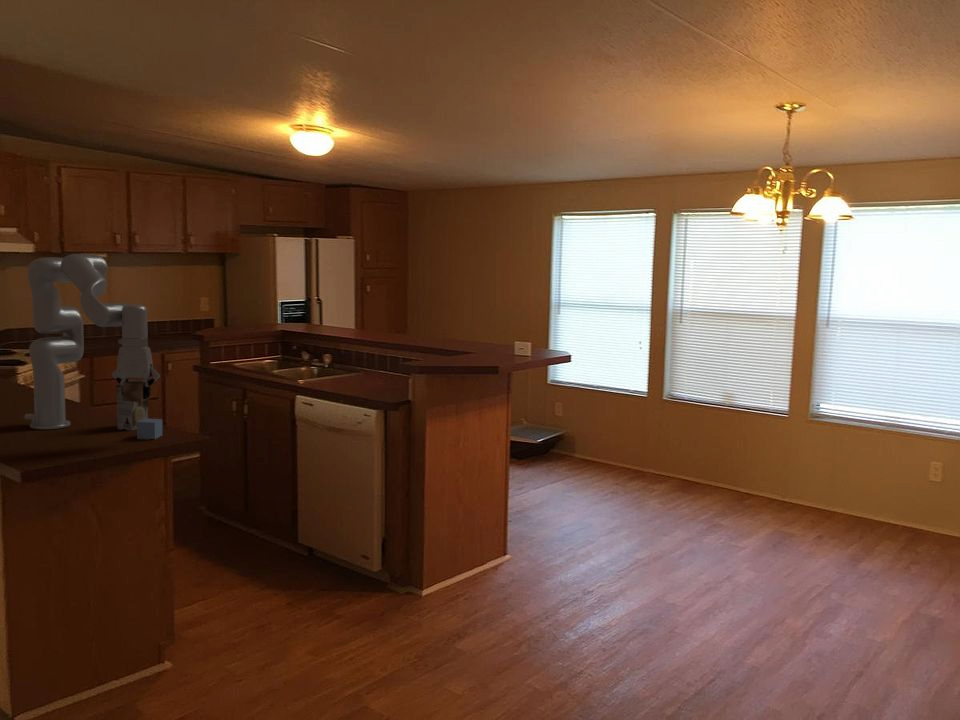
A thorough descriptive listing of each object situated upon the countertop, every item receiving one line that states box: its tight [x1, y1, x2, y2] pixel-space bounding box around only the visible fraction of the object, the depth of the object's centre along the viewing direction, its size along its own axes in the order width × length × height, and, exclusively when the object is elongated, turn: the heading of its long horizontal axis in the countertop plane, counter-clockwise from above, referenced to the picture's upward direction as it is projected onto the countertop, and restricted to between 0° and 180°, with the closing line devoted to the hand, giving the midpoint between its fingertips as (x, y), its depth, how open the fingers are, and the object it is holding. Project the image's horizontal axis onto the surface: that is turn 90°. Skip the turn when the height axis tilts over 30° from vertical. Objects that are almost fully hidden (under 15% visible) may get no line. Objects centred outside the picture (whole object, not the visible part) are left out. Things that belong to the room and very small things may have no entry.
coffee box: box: [116, 384, 149, 431], centre depth 274 cm, size 9×6×16 cm
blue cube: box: [136, 418, 163, 440], centre depth 261 cm, size 6×6×6 cm
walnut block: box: [122, 379, 150, 402], centre depth 249 cm, size 6×6×6 cm
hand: (136, 397), depth 249 cm, fingers closed on walnut block, 6 cm apart
